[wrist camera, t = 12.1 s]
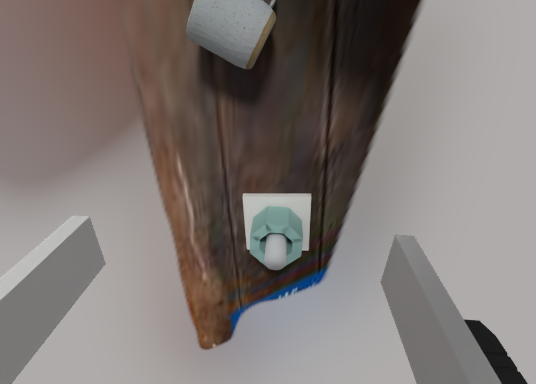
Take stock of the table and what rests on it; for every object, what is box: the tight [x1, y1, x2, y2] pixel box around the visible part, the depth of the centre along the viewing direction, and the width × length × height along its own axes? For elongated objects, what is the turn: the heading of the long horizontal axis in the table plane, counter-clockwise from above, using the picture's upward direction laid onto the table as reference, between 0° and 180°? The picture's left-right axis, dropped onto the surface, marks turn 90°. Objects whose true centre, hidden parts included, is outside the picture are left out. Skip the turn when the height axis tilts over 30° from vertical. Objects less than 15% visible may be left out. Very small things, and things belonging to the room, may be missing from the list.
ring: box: [250, 206, 303, 266], centre depth 46 cm, size 8×8×5 cm
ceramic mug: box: [187, 0, 276, 69], centre depth 32 cm, size 11×8×8 cm
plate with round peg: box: [243, 194, 311, 270], centre depth 45 cm, size 11×11×10 cm
